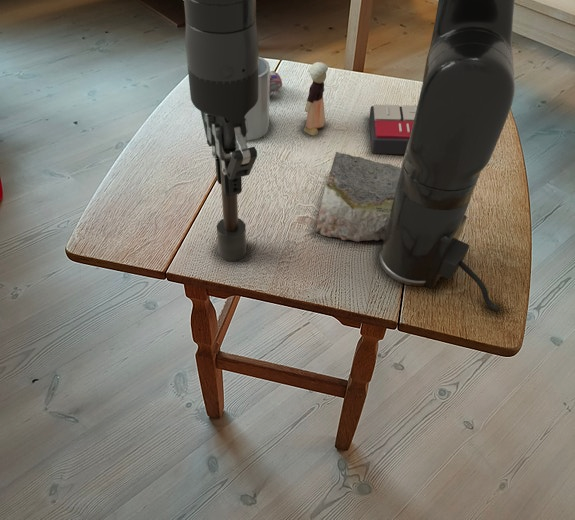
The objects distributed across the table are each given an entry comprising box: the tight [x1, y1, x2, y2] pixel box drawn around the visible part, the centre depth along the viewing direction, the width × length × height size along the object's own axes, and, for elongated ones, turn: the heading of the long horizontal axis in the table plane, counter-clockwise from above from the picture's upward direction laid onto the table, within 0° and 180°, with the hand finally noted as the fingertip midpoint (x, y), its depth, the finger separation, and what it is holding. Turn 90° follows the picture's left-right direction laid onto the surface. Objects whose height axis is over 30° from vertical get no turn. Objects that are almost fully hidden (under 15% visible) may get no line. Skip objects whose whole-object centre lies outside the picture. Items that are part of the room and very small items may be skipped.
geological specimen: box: [315, 151, 401, 242], centre depth 85 cm, size 11×6×15 cm
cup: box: [245, 55, 271, 142], centre depth 96 cm, size 9×9×12 cm
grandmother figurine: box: [303, 61, 329, 136], centre depth 97 cm, size 8×4×13 cm, turn 168°
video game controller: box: [269, 70, 283, 96], centre depth 106 cm, size 10×5×7 cm, turn 104°
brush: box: [216, 159, 247, 262], centre depth 73 cm, size 4×4×17 cm
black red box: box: [368, 104, 418, 155], centre depth 99 cm, size 11×4×15 cm
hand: (229, 186), depth 71 cm, fingers closed on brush, 2 cm apart
